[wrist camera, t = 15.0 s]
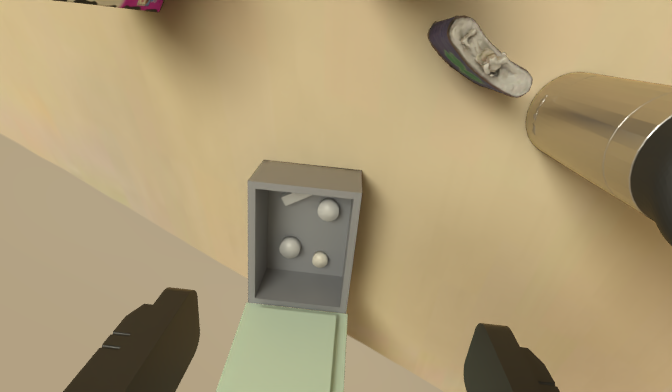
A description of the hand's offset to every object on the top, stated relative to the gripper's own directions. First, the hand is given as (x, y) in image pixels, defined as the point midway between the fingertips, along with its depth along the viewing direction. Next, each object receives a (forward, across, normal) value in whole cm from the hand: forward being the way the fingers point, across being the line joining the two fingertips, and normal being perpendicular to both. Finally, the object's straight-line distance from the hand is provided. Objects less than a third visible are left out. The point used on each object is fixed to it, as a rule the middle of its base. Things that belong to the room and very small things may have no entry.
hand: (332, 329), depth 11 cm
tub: (+34, +4, +15) cm, 37 cm away
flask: (+34, -11, -7) cm, 37 cm away
